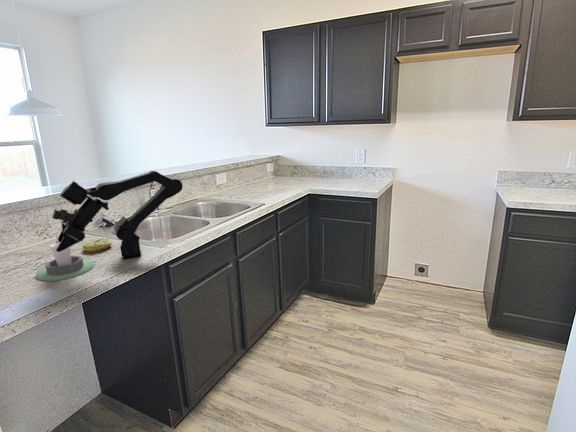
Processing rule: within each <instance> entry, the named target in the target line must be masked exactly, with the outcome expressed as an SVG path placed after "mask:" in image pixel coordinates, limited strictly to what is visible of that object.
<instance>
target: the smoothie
mask: <svg viewBox="0 0 576 432" xmlns="http://www.w3.org/2000/svg"><path fill="white" fill-rule="evenodd" d="M54 235H55V239H56V241H57V243H56V242H55V243H54V242H53V243H51V244H50V245H49V250H51V252H52V254H53V256H54V259H56V262H57V264H58V266H65V265H68V264H72V261H71V256H72V250H71V247H72V246H70V247H68V248H66V249H64V250H62V251H60V252H58V251H56V249H57V248H58V246H59V244H60V243H61V242H59V240H58V237H59V235H58V233H57V232H55V234H54Z"/></svg>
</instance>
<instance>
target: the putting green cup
mask: <svg viewBox="0 0 576 432" xmlns="http://www.w3.org/2000/svg"><path fill="white" fill-rule="evenodd" d="M71 261H72V264H68V265H65V266H58V264H57V262H56V259H55V258H54V259H52V260H50V261H47V262H46V263H45V267H43V268H41V269H40V270H39V271H37V272H36V274H35V279H36V280H37V281H42V282H54V281H62V280H68V279H71V278H74V277H75V278H76V277H78V276H81V275H83V274H85V273H87V272H90V271H91V270H92V269H93V268H94V266H95V262H94V261H92V260H90V259H84V258H83V257H82V256H80V255H71Z"/></svg>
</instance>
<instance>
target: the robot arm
mask: <svg viewBox="0 0 576 432" xmlns="http://www.w3.org/2000/svg"><path fill="white" fill-rule="evenodd" d="M153 182H154V183H155V182H156V183H157V184H159V185H160V187H159V188H158V191H157V192H156V193H155V194H154V195H153V196H151V197H150V198H149V199H148V200H147V201H146V202H144V203H143V205H142V206H141V207H140V208H138V209H137V210H136V211H135V212H134V213H133V214H132V215H130V216H129V217H127V218H126V217H125V216H124V215H123V216H122V217H121V218H120V220H118V221H117V222H115V225H114V226H113V233H114V235H115V237H116V238H117V239H118V240H120V241H121V243H120V253H121V257H122V259H123V260H127V259H128V260H129V259H134V258H139V257H140V258H141V257H142V250H141V244H140V236H139V235H138V234H137V229H138V228H139V227H140V224H141V223H143V221H145V220H146V219H147V218H148V217H149V216H150V215H151V214H152V213H153V212H154V211H155V210H156V209H157V208H159V207H160V206H161V205H162V204H163V203H164V202H165V201H166V200H167V199H170V198H172V197H175V196H176V195H177V194H179V193H180V192H182V190H183V182H182V181H181V180H180V179H177V178H174V177H167V176H166V175H163V174H162V173H159V172H158V171H157V170H150V171H148V172H144V173H141V174H138V175H136V176H132V177H129V178H125V179H122V180H118V181H109V182H108V181H107V182H100V183H98V184H97V185H96V187H91V188H88V189H87V188H84V187H83V186H81V185H79V183H78V182H76V181H74V180H72V181H71V183H69V184H68V186H66V187H65V188H63V190H62V191H61V193H60V194H59V197H61V198H62V199H65V201H67V202H69V203H70V204H72V205H74V206H76V205H80V207H79V208H78V209H75V210H74V211H71V210H68V209H63V208H59V207H55V208H54V211H53V213H52V219H54V220H59V221H61V223H60V224H61V231H60V233H59V235H58V240H59V242H61V243H60V244H59V246H58V248H57V249H56V251H58V252H60V251H62V250H64V249H66V248H68V247H72V246H73V245H76V244H78V243H80V242H83V241H84V240H85V239H86V235H85V231H86V228H87V226H89V224H90V223H92V222H93V221H94V218H95V217H96V216H97V214H98V213H99V212H100V211H101V209H102V208H103V209H105V210H106V211H109V202H108V201H110V200H112V199H114V198H116V197H118V196H119V195H121V194H122V193H123V192H126V191H129V190H132V189H135V188H138V187H142V186H144V185H148V184H150V183H153ZM55 243H57V240H56V241H55Z"/></svg>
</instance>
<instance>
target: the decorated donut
mask: <svg viewBox="0 0 576 432" xmlns="http://www.w3.org/2000/svg"><path fill="white" fill-rule="evenodd" d="M112 245H113V242H112V240H111V239H110V238H105V237H100V238H94V239H90V240H87V241H85V242H84V243H82V249H83V251H85V252H87V253H97V252H102V251H106V250H108V248H110V247H111V246H112Z"/></svg>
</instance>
